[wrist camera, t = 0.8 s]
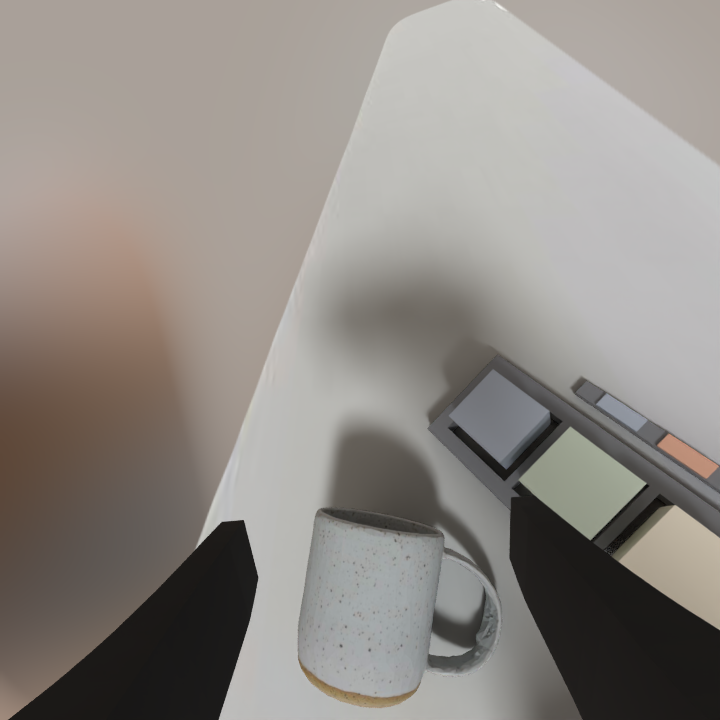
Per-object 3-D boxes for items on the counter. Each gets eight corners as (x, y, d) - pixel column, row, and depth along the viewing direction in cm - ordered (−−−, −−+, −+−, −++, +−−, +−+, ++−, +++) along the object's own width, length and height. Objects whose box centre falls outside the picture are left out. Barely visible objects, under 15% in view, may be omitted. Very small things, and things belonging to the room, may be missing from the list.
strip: (836, 546, 16) (847, 547, 16) (820, 562, 16) (830, 563, 16) (586, 383, 23) (586, 379, 23) (575, 394, 23) (575, 391, 23)
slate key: (550, 423, 22) (549, 411, 19) (506, 469, 22) (499, 462, 20) (499, 384, 24) (492, 369, 22) (459, 426, 24) (448, 415, 22)
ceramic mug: (332, 636, 25) (255, 676, 18) (353, 506, 27) (293, 502, 21) (500, 705, 20) (477, 792, 13) (506, 538, 22) (489, 545, 16)
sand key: (750, 576, 16) (784, 586, 14) (688, 636, 16) (711, 656, 14) (659, 507, 18) (675, 504, 16) (605, 561, 19) (613, 566, 16)
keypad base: (973, 702, 14) (1011, 718, 13) (836, 830, 14) (860, 857, 13) (500, 361, 26) (497, 354, 25) (432, 432, 27) (427, 428, 25)
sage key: (635, 488, 19) (646, 483, 17) (583, 540, 19) (587, 543, 17) (568, 437, 21) (570, 426, 19) (522, 485, 21) (518, 479, 19)
